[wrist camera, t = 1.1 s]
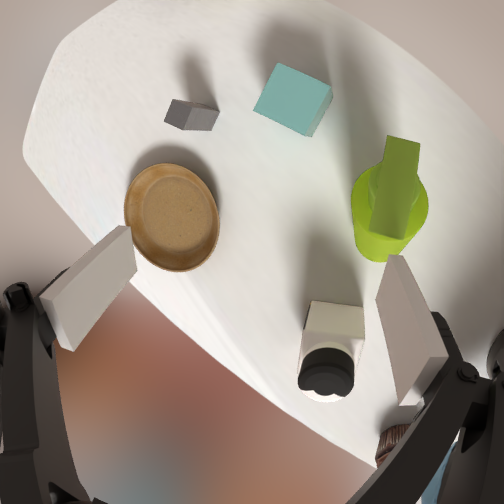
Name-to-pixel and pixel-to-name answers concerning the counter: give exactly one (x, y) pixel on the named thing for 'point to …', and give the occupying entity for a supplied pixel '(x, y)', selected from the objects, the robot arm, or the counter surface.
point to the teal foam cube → (294, 100)
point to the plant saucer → (172, 217)
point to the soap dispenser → (389, 202)
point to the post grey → (191, 116)
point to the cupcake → (389, 441)
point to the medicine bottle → (330, 350)
